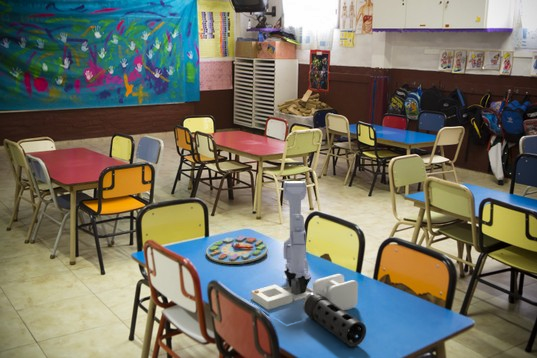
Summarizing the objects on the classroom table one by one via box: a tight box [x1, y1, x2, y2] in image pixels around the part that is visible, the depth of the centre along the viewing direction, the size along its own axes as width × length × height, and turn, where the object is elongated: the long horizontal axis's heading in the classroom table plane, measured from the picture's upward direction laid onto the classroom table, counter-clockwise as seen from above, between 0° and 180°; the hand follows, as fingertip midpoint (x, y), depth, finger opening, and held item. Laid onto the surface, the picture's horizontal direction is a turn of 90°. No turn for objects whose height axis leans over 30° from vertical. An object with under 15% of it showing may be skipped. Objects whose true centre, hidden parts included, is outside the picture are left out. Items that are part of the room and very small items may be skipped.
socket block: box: [250, 283, 293, 310], centre depth 235 cm, size 12×12×5 cm
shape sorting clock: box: [205, 235, 269, 265], centre depth 288 cm, size 31×30×6 cm
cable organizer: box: [312, 273, 359, 311], centre depth 229 cm, size 15×11×12 cm
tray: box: [282, 285, 313, 302], centre depth 242 cm, size 11×11×2 cm
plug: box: [291, 277, 301, 295], centre depth 242 cm, size 4×3×6 cm
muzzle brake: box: [302, 293, 367, 349], centre depth 210 cm, size 10×28×10 cm, turn 29°
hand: (297, 289), depth 242 cm, fingers open, 7 cm apart
